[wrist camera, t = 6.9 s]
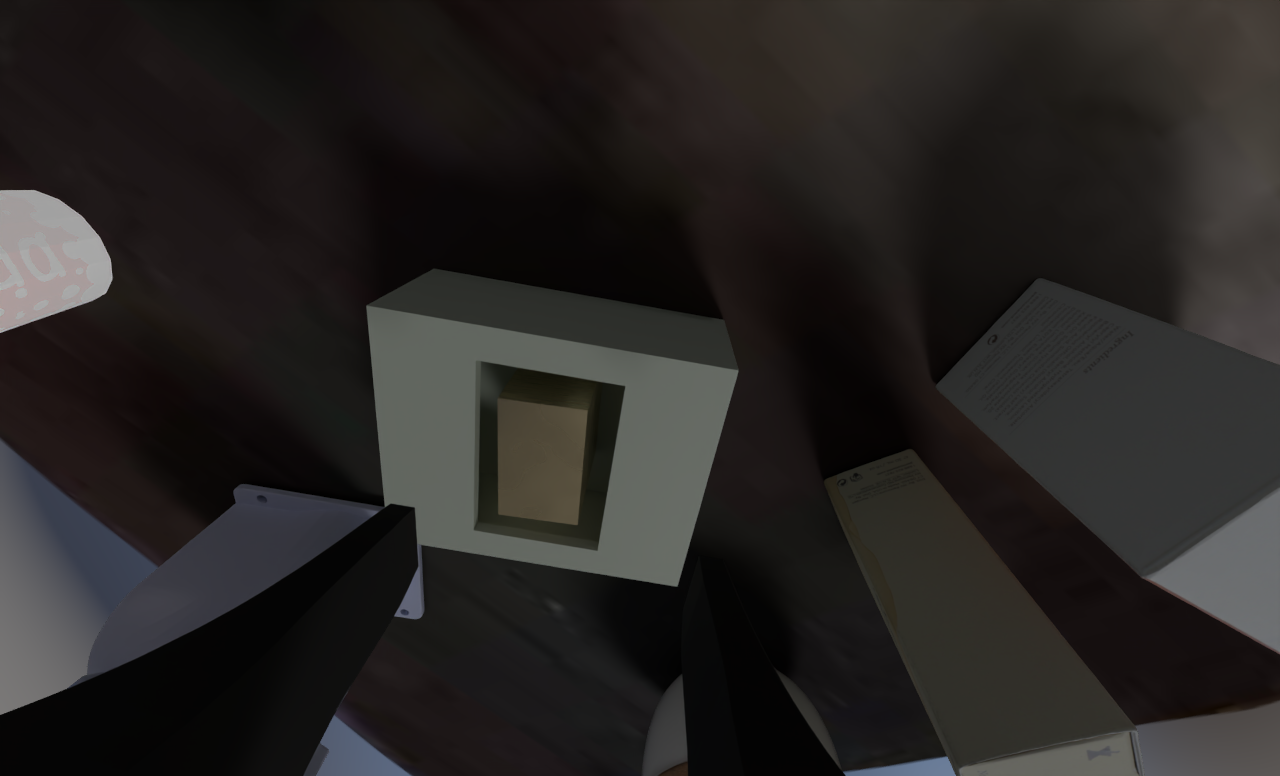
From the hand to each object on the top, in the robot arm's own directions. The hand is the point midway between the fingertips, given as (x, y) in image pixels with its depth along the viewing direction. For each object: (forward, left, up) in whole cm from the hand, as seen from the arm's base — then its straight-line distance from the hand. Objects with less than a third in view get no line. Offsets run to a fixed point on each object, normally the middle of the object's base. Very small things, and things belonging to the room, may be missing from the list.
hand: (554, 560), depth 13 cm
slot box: (-2, -1, -11) cm, 11 cm away
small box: (+18, +4, -11) cm, 22 cm away
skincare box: (+14, -4, -11) cm, 19 cm away
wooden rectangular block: (-2, -1, -10) cm, 10 cm away
